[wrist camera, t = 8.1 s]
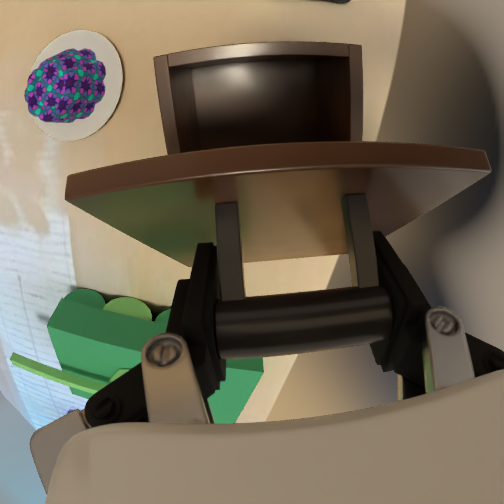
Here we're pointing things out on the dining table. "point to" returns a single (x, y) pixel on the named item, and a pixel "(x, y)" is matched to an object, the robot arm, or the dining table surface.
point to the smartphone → (338, 1)
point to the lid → (282, 226)
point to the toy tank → (123, 350)
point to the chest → (260, 94)
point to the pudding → (74, 85)
